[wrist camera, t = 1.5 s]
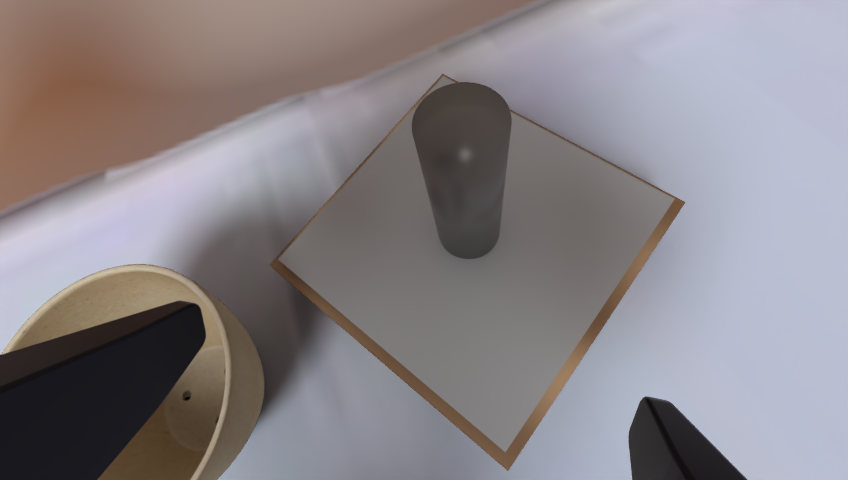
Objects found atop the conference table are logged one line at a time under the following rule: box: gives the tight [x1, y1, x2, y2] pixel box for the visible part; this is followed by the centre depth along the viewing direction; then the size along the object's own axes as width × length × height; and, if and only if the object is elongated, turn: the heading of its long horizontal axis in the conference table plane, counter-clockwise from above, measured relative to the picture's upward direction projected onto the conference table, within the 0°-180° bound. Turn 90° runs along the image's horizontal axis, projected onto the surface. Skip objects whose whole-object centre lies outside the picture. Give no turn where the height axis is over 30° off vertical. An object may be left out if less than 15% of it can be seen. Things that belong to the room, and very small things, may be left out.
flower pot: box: [1, 264, 264, 480], centre depth 18 cm, size 10×10×7 cm
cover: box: [278, 76, 674, 452], centre depth 16 cm, size 13×13×9 cm
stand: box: [270, 74, 685, 471], centre depth 21 cm, size 14×14×3 cm
